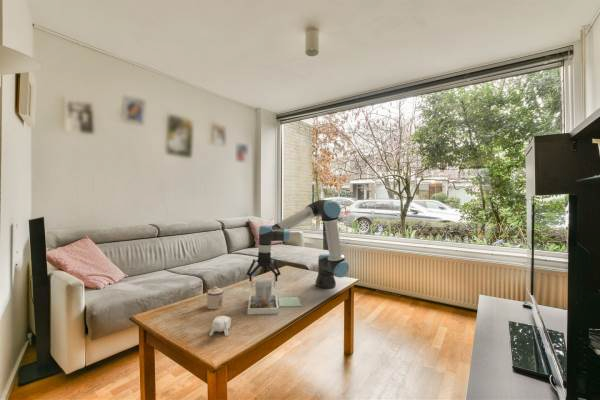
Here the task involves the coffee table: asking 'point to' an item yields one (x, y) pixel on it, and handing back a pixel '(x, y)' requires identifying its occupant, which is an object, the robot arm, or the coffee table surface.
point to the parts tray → (263, 310)
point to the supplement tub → (263, 290)
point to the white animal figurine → (221, 324)
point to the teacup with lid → (215, 298)
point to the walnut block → (263, 304)
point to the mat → (289, 302)
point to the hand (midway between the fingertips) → (263, 286)
